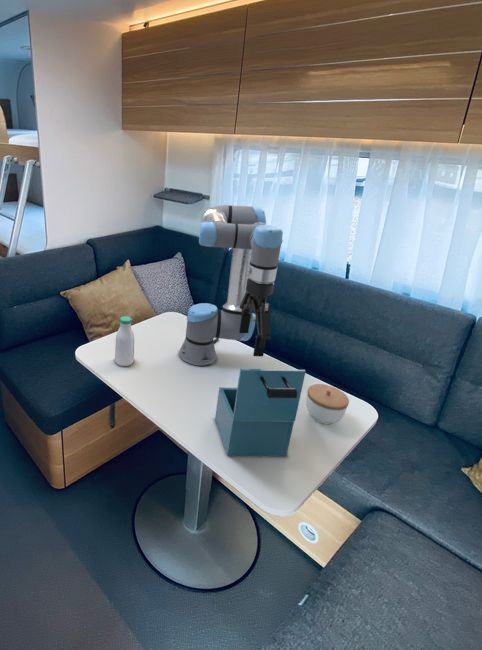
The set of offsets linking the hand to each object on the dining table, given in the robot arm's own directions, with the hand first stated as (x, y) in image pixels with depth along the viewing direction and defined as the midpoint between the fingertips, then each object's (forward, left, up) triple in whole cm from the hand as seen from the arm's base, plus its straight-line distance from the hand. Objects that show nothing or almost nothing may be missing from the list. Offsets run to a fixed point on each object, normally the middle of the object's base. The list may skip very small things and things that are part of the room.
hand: (250, 343), depth 125 cm
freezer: (+4, +5, -31) cm, 31 cm away
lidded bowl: (-19, +25, -31) cm, 44 cm away
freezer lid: (+11, +8, -9) cm, 16 cm away
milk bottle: (-14, -50, -31) cm, 61 cm away
